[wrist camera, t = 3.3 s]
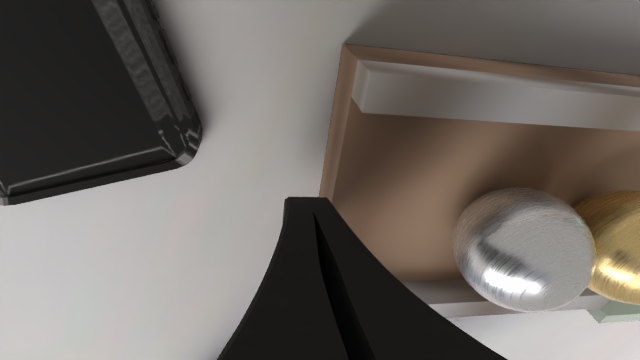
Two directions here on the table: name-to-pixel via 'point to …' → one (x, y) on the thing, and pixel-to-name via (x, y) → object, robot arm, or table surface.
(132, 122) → the phone
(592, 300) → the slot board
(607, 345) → the table surface
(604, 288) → the brass ball
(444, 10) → the table surface
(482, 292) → the steel ball
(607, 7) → the table surface
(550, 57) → the table surface
